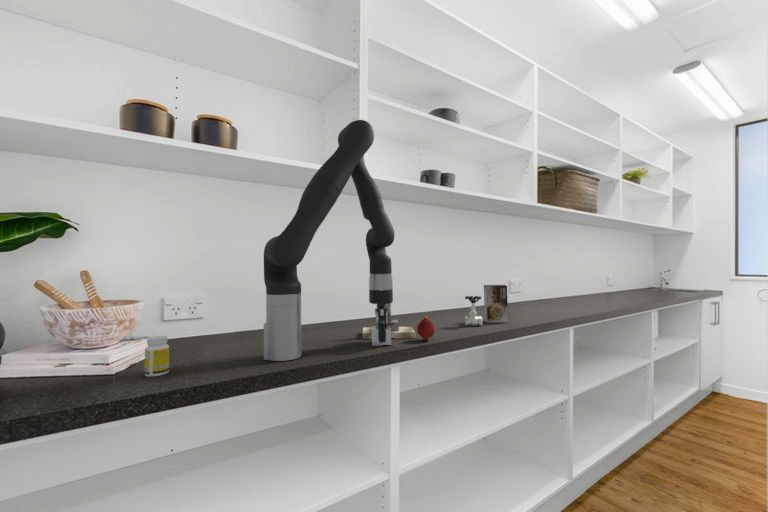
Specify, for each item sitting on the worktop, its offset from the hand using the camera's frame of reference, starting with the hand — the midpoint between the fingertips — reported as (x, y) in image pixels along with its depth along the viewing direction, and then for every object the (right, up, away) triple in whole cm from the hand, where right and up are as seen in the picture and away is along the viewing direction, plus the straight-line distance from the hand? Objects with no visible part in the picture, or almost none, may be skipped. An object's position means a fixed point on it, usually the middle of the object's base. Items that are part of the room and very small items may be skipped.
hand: (381, 339), depth 112 cm
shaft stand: (+2, -2, +14) cm, 14 cm away
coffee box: (+50, -3, +43) cm, 66 cm away
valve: (+37, -2, +32) cm, 50 cm away
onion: (+15, -2, +4) cm, 15 cm away
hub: (0, -1, 0) cm, 1 cm away
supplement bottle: (-52, -1, -31) cm, 60 cm away
